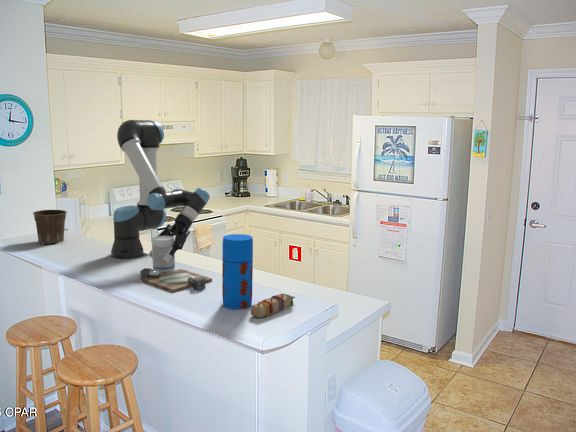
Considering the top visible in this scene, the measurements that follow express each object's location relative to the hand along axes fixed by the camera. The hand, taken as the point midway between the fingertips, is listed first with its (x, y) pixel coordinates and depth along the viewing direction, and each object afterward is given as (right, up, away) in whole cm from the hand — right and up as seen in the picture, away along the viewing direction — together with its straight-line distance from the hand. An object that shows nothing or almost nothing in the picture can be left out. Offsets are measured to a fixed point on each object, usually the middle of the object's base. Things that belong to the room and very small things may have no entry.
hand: (157, 258), depth 226 cm
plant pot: (-68, +4, +49) cm, 84 cm away
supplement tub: (+2, -6, +3) cm, 7 cm away
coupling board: (+11, -8, -12) cm, 18 cm away
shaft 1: (0, -8, -10) cm, 13 cm away
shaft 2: (+20, -10, -19) cm, 29 cm away
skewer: (+52, -15, -41) cm, 68 cm away
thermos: (+38, -14, -37) cm, 55 cm away
